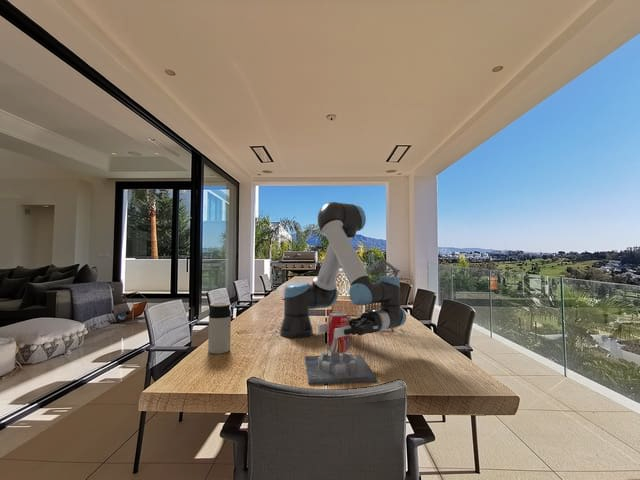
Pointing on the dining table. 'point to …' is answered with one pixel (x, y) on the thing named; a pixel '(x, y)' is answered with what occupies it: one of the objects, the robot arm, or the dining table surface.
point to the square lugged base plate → (338, 369)
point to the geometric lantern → (381, 275)
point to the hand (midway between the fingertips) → (326, 331)
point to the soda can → (333, 322)
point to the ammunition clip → (373, 307)
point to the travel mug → (219, 328)
